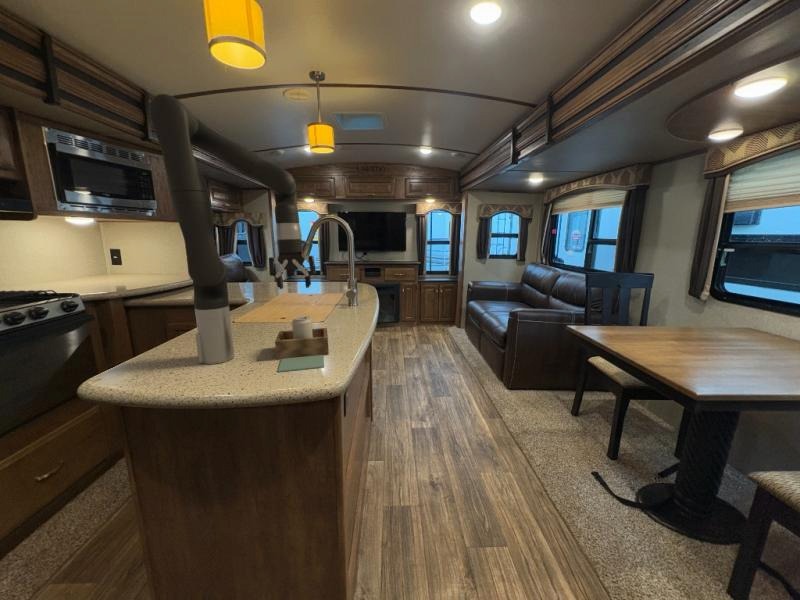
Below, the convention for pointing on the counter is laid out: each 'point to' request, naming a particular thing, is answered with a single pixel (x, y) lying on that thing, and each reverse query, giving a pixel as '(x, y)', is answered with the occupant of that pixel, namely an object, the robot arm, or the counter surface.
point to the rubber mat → (301, 363)
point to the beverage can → (302, 327)
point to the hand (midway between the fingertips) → (294, 288)
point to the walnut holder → (301, 344)
